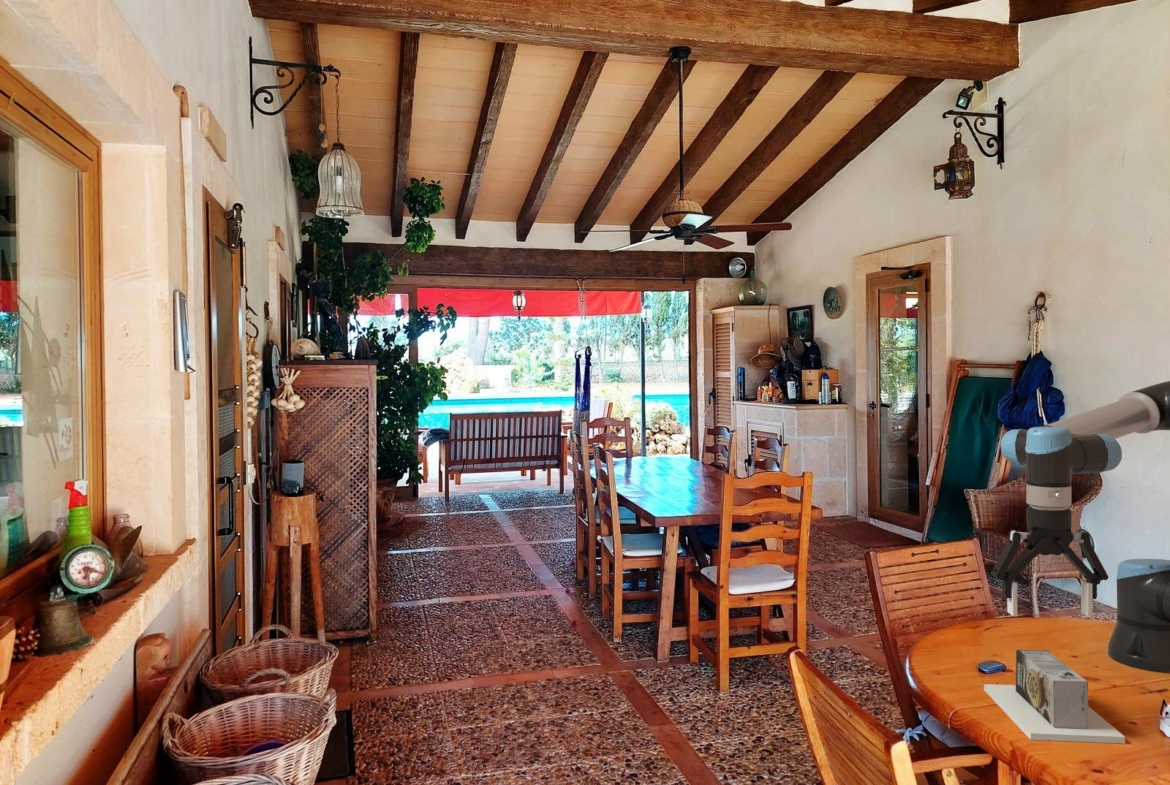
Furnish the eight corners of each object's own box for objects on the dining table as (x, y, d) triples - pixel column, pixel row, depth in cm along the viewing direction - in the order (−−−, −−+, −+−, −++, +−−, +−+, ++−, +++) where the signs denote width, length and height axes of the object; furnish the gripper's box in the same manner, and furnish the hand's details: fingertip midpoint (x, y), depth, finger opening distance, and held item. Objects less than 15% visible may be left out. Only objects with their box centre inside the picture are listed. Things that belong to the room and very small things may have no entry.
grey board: (1064, 692, 160) (1064, 686, 160) (1125, 743, 138) (1125, 737, 138) (983, 689, 162) (983, 684, 162) (1030, 739, 141) (1030, 733, 140)
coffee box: (1052, 728, 142) (1014, 692, 158) (1089, 729, 141) (1048, 693, 157) (1051, 679, 142) (1014, 648, 158) (1089, 680, 141) (1048, 649, 157)
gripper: (988, 510, 147) (989, 620, 148) (1129, 510, 144) (1129, 622, 145) (973, 503, 154) (974, 607, 155) (1107, 503, 151) (1107, 609, 152)
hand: (1049, 615), depth 150 cm, fingers open, 13 cm apart
